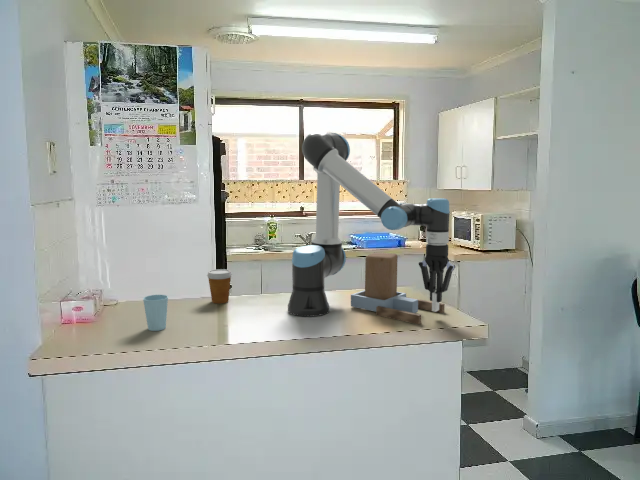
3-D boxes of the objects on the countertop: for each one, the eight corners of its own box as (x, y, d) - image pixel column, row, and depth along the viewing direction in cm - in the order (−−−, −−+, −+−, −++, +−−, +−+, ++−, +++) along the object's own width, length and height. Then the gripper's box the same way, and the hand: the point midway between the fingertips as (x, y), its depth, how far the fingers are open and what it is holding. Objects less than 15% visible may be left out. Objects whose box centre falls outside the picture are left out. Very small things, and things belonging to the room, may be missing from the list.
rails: (376, 315, 185) (376, 306, 184) (403, 303, 199) (403, 296, 199) (418, 324, 174) (419, 315, 174) (444, 311, 189) (444, 303, 188)
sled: (350, 306, 194) (350, 294, 193) (372, 298, 206) (372, 287, 205) (404, 317, 180) (404, 305, 179) (425, 308, 191) (425, 296, 191)
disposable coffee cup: (230, 304, 197) (229, 274, 196) (205, 304, 198) (204, 273, 196) (234, 298, 207) (233, 269, 205) (210, 298, 207) (209, 268, 205)
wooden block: (389, 311, 189) (391, 257, 186) (363, 308, 193) (364, 255, 190) (397, 305, 198) (398, 253, 195) (371, 302, 202) (372, 251, 199)
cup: (166, 332, 165) (164, 300, 164) (141, 332, 165) (140, 300, 164) (171, 324, 173) (170, 294, 172) (148, 325, 173) (146, 294, 171)
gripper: (414, 243, 178) (413, 309, 182) (450, 246, 170) (448, 316, 173) (425, 240, 184) (423, 305, 187) (459, 243, 176) (457, 311, 179)
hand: (435, 310), depth 180 cm, fingers closed
